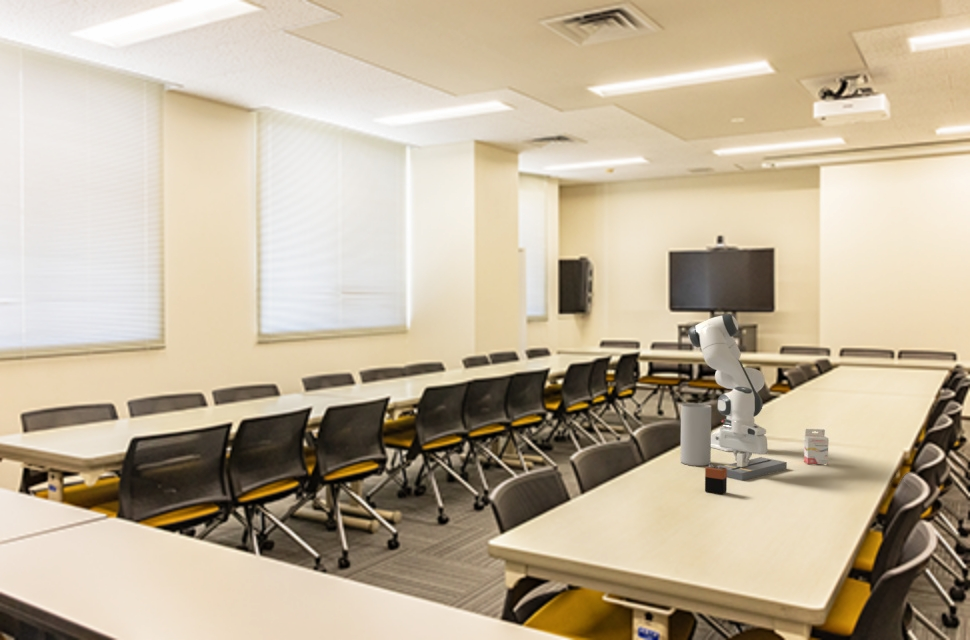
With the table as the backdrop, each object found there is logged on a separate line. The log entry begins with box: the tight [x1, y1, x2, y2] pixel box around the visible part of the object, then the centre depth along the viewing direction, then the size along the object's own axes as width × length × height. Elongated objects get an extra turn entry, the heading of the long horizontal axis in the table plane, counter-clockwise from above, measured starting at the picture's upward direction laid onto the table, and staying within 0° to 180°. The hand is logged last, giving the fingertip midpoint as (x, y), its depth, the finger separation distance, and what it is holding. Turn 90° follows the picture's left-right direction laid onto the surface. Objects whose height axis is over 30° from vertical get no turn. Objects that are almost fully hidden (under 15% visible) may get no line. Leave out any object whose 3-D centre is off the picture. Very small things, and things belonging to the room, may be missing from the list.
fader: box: [736, 452, 748, 468], centre depth 299 cm, size 2×4×7 cm, turn 128°
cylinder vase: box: [680, 402, 712, 467], centre depth 319 cm, size 12×12×25 cm
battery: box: [704, 464, 728, 495], centre depth 271 cm, size 4×7×10 cm, turn 54°
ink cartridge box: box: [803, 428, 830, 465], centre depth 319 cm, size 9×5×15 cm, turn 84°
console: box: [722, 456, 788, 482], centre depth 303 cm, size 12×32×3 cm, turn 128°
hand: (742, 461), depth 299 cm, fingers closed on fader, 2 cm apart
